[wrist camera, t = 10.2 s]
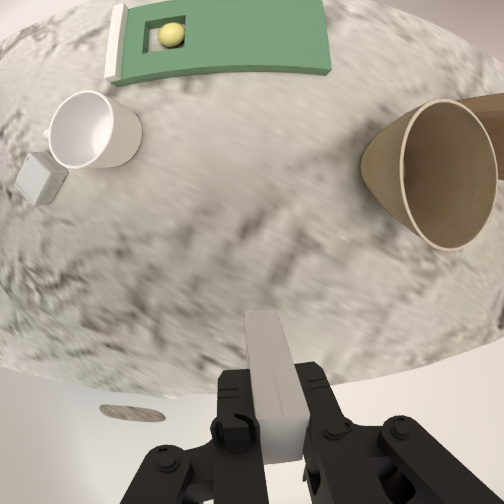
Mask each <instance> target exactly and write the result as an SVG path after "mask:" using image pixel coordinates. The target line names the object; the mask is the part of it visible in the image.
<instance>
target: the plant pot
mask: <svg viewBox="0 0 504 504" xmlns="http://www.w3.org/2000/svg"><path fill="white" fill-rule="evenodd" d="M360 169H361V175H362V178H363V180H364V182H365V184H366V185H367V187H368V188H369V190H370V191H371V192H372V194H373V195H374V196H375V197H376V199H377V200H378V201H379V202H380V203H381V204H382V205H383V206H384V207H385V208H386V209H387V210H388V211H389V212H390V213H391V214H392V215H393V216H394V217H395V218H396V219H397V220H398V221H400V222H401V223H402V224H403V225H404V226H406V227H407V228H408V229H409V230H411V231H412V232H413V233H415V234H416V235H417V236H419V237H420V238H421V239H423V240H424V241H425V242H427V243H428V244H429V245H431V246H432V247H434V248H436V249H439V250H443V251H456V250H459V249H462V248H464V247H466V246H468V245H469V244H471V243H472V242H473V241H474V240H475V239H476V238H477V237H478V236H479V235H480V234H481V233H482V231H483V230H484V228H485V226H486V225H487V223H488V221H489V219H490V217H491V214H492V212H493V209H494V205H495V201H496V196H497V189H498V170H497V162H496V157H495V152H494V149H493V146H492V143H491V140H490V138H489V136H488V134H487V132H486V130H485V128H484V126H483V125H482V123H481V122H480V121H479V119H478V118H477V117H476V116H475V114H474V113H473V112H472V111H471V110H469V109H468V108H467V107H466V106H464V105H463V104H461V103H459V102H457V101H454V100H450V99H435V100H432V101H429V102H427V103H425V104H423V105H421V106H419V107H417V108H415V109H414V110H412V111H410V112H408V113H406V114H405V115H403V116H401V117H400V118H398V119H397V120H395V121H394V122H392V123H391V124H390V125H388V126H387V127H386V128H385V129H384V130H382V131H381V132H380V133H379V134H378V135H377V136H376V137H375V138H374V139H373V140H372V142H371V143H370V144H369V145H368V147H367V148H366V150H365V152H364V153H363V155H362V158H361V163H360Z"/></svg>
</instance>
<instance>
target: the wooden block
mask: <svg viewBox="0 0 504 504" xmlns="http://www.w3.org/2000/svg"><path fill="white" fill-rule="evenodd" d="M457 102H459V103H461V104H463V105H464V106H466V107H467V108H468V109H469V110H471V111H472V112H473V113H474V114H475V116H476V117H477V118H478V119H479V121H480V122H481V123H482V125H483V126H484V128H485V130H486V132H487V134H488V136H489V138H490V140H491V143H492V146H493V149H494V152H495V157H496V162H497V170H498V179H499V180H504V93H500V94H493V95H486V96H479V97H473V98H468V99H462V100H457Z"/></svg>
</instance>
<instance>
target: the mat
mask: <svg viewBox="0 0 504 504" xmlns="http://www.w3.org/2000/svg"><path fill="white" fill-rule="evenodd" d="M168 23H179V24H185V46H184V47H183V48H175V49H168V50H162V51H156V52H150V53H148V41H149V30H150V29H153V28H158V27H163V26H164V25H166V24H168ZM331 70H332V68H331V59H330V51H329V43H328V35H327V28H326V21H325V15H324V9H323V3H322V1H320V0H171V1H165V2H159V3H154V4H149V5H144V6H139V7H135V8H131V9H128V8H127V6H126V5H125V3H121V4H118V5H114V7H113V13H112V18H111V24H110V30H109V37H108V45H107V53H106V63H105V74H104V78H105V79H106V80H108V81H109V82H111V83H112V84H114V85H115V86H117V87H119V86H123V85H128V84H133V83H138V82H143V81H149V80H155V79H161V78H168V77H176V76H184V75H194V74H205V73H220V72H291V73H306V74H318V75H326V74H328V73H329V72H330V71H331Z"/></svg>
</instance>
